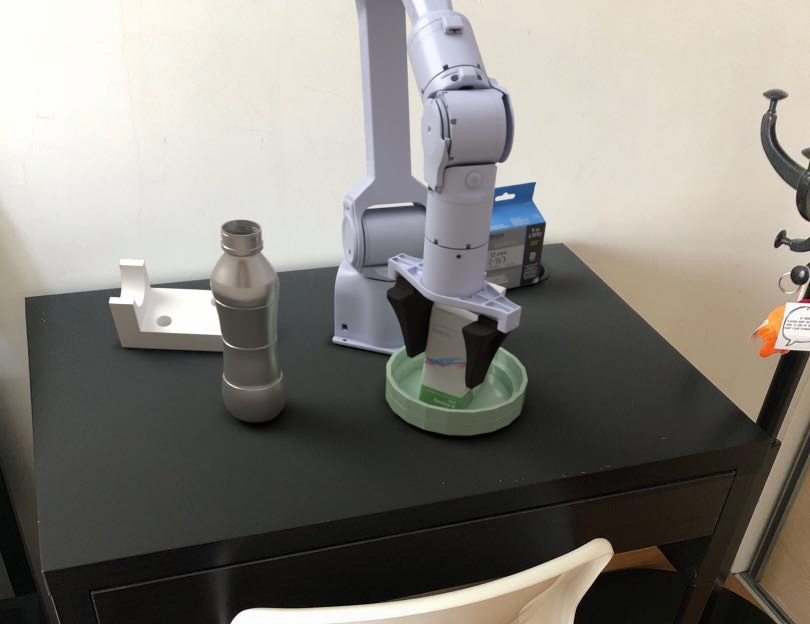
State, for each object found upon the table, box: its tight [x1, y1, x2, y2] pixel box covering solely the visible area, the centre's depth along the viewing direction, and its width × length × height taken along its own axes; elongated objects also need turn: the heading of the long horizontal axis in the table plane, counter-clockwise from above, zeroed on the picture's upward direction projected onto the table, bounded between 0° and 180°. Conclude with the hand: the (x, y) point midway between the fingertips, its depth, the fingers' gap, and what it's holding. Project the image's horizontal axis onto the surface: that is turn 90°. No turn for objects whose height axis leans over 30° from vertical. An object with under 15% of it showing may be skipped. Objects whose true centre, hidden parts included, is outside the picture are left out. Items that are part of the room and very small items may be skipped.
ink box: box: [419, 281, 507, 409], centre depth 94 cm, size 9×5×12 cm, turn 155°
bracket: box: [108, 258, 223, 352], centre depth 103 cm, size 13×7×8 cm, turn 90°
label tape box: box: [485, 181, 547, 290], centre depth 115 cm, size 9×4×12 cm, turn 118°
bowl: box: [385, 345, 529, 436], centre depth 97 cm, size 15×15×4 cm
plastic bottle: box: [209, 219, 287, 423], centre depth 88 cm, size 6×7×20 cm
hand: (444, 368), depth 89 cm, fingers open, 7 cm apart
